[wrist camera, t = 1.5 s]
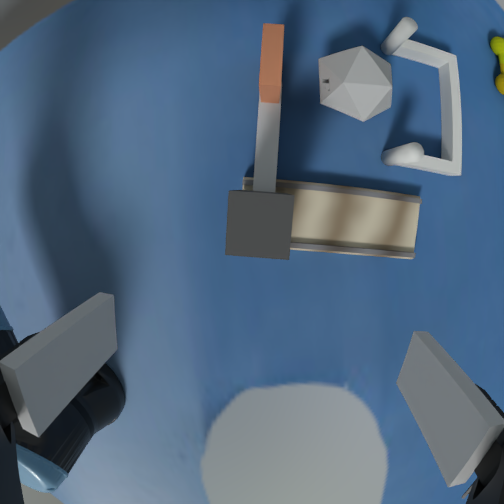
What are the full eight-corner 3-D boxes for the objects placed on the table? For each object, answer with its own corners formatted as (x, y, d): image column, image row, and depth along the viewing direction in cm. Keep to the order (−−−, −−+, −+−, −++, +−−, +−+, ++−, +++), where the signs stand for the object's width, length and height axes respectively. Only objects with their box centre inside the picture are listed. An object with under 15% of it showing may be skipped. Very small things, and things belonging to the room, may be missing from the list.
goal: (380, 164, 35) (406, 159, 27) (380, 41, 32) (400, 15, 24) (449, 177, 35) (483, 177, 27) (445, 60, 31) (474, 42, 23)
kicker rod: (240, 232, 37) (225, 254, 25) (252, 56, 33) (244, 2, 20) (282, 235, 37) (289, 259, 25) (293, 59, 33) (303, 5, 20)
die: (332, 50, 33) (299, 43, 26) (400, 54, 29) (386, 44, 22) (334, 110, 38) (303, 119, 31) (400, 119, 33) (386, 129, 26)
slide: (239, 243, 38) (238, 246, 37) (244, 177, 37) (242, 176, 35) (409, 257, 37) (414, 260, 36) (416, 196, 36) (422, 196, 34)
